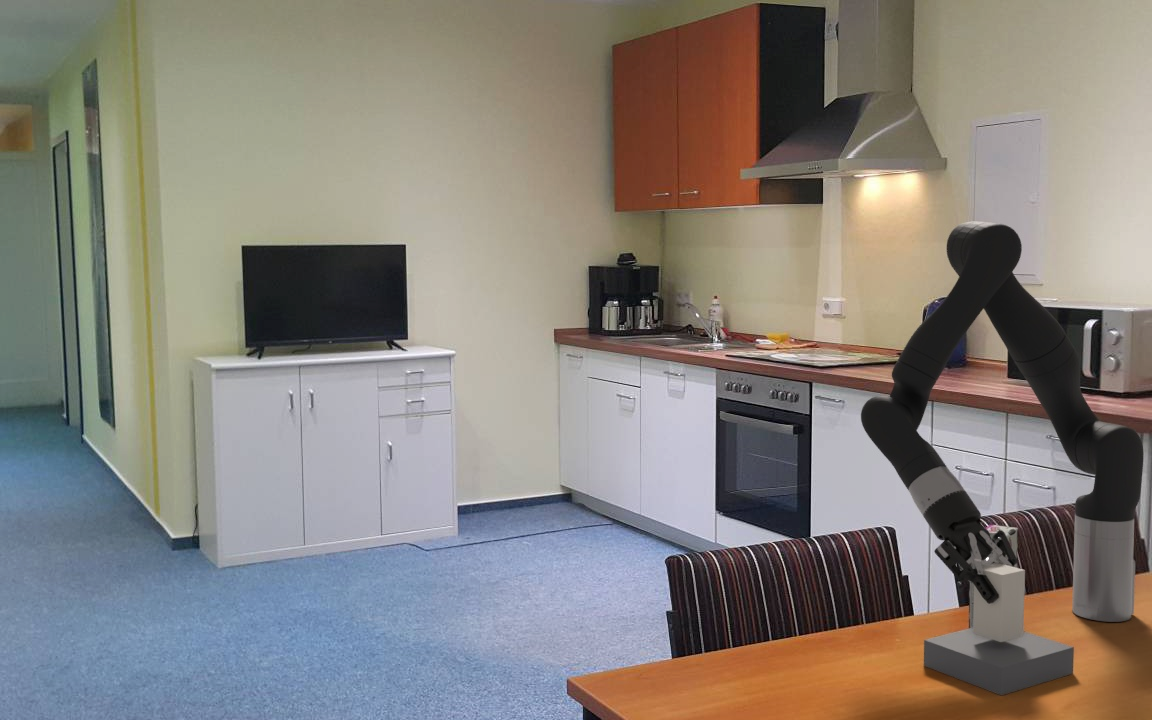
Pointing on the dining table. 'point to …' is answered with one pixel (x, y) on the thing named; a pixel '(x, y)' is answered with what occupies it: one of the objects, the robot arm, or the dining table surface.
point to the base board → (998, 660)
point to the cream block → (1001, 604)
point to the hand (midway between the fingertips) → (1006, 597)
